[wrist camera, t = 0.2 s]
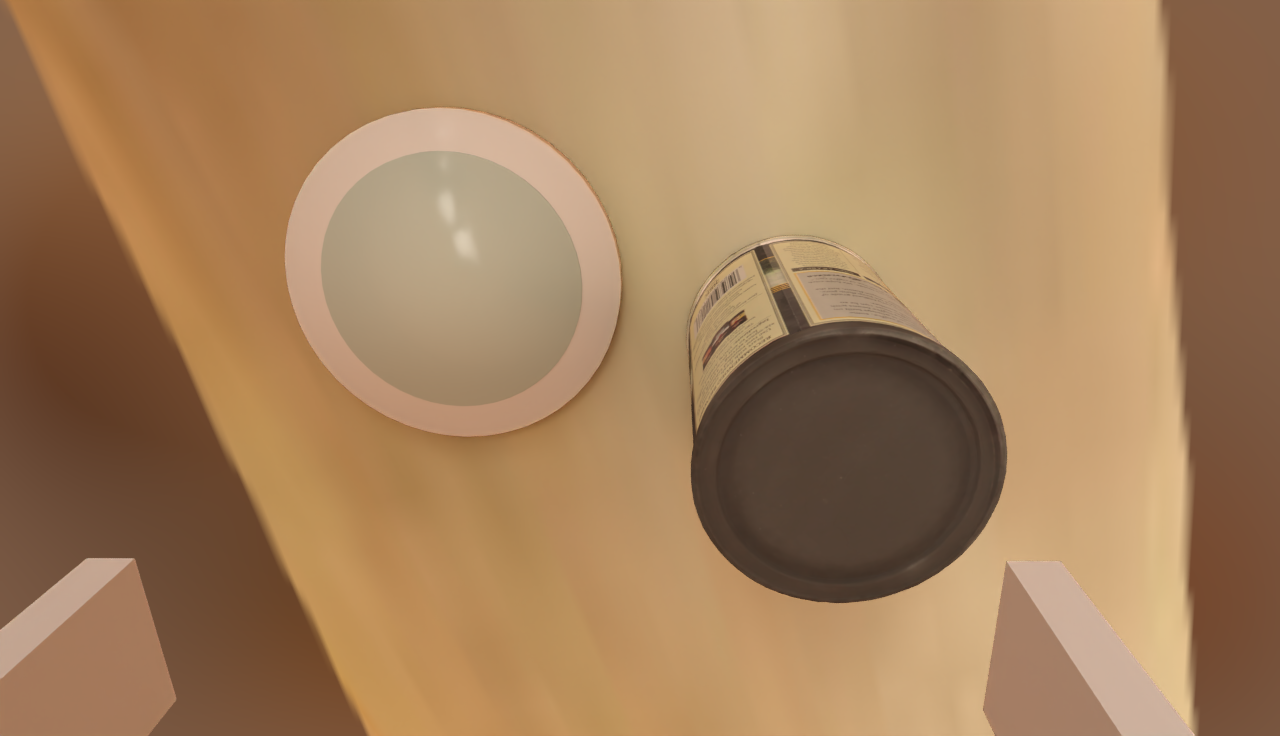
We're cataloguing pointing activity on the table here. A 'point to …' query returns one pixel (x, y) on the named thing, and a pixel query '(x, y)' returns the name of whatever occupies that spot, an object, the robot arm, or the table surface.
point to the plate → (453, 271)
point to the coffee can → (833, 427)
